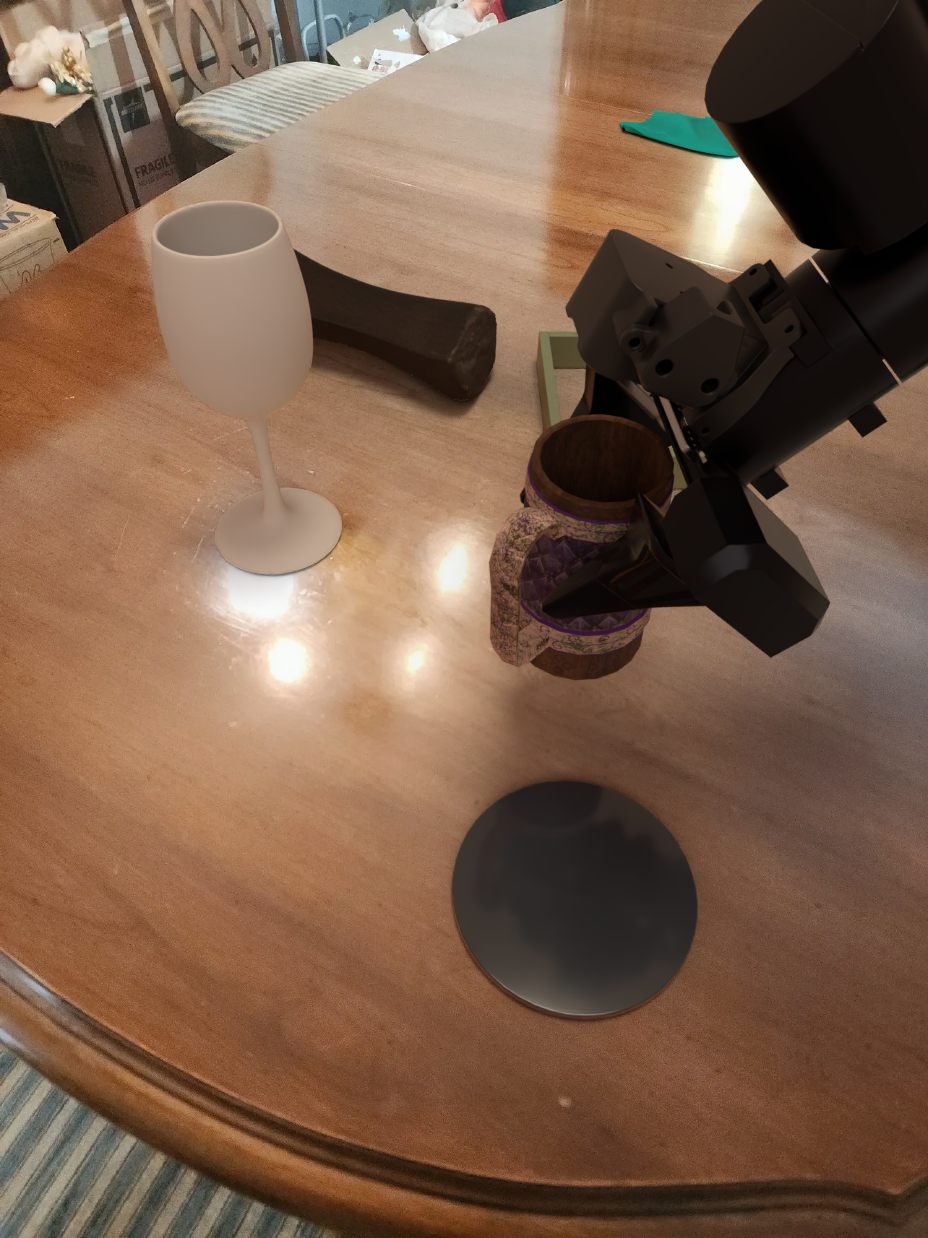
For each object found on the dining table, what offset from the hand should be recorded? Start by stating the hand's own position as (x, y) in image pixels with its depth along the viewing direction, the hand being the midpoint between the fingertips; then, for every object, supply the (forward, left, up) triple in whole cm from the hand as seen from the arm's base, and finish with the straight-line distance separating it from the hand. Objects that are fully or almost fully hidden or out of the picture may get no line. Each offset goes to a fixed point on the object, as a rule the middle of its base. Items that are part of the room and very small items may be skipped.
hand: (535, 554), depth 39 cm
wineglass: (+16, -16, -14) cm, 26 cm away
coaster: (-2, +10, -13) cm, 17 cm away
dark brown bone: (+14, -39, -14) cm, 43 cm away
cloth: (-30, -89, -14) cm, 95 cm away
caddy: (-10, -29, -13) cm, 33 cm away
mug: (-2, 0, -7) cm, 7 cm away
